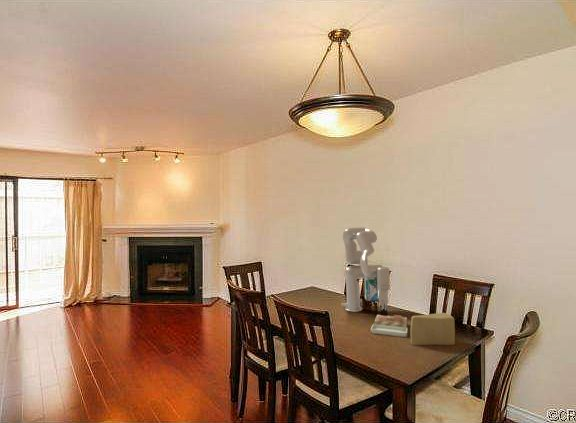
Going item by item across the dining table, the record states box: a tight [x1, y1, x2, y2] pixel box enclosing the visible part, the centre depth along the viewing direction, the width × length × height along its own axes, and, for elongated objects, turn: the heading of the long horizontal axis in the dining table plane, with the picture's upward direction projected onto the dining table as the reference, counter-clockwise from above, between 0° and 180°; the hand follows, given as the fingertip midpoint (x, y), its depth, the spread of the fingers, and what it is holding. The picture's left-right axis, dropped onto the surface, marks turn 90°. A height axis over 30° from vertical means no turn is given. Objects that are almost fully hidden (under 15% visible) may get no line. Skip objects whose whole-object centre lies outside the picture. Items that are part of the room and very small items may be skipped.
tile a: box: [379, 314, 389, 321], centre depth 202 cm, size 4×4×2 cm
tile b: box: [393, 314, 403, 321], centre depth 202 cm, size 4×4×2 cm
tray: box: [370, 323, 409, 338], centre depth 193 cm, size 20×10×2 cm, turn 67°
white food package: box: [374, 314, 408, 327], centre depth 204 cm, size 18×12×4 cm, turn 67°
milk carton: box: [363, 277, 379, 302], centre depth 267 cm, size 9×9×25 cm
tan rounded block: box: [409, 312, 456, 346], centre depth 176 cm, size 22×10×15 cm, turn 95°
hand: (384, 316), depth 206 cm, fingers closed
